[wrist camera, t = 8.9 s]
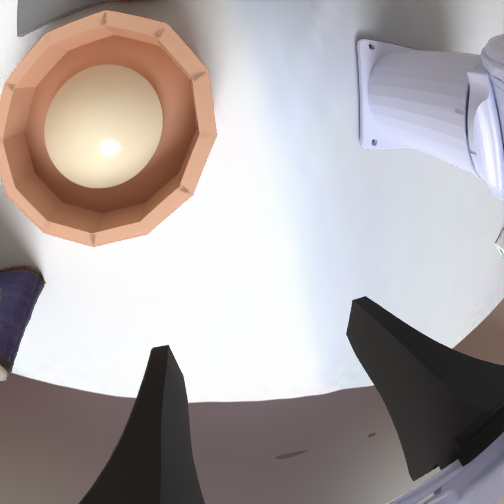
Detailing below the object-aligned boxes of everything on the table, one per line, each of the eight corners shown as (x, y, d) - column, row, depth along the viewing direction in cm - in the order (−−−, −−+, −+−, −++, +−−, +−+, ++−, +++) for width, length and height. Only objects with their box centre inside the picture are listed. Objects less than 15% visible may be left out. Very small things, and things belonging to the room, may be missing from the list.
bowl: (195, 9, 12) (200, -10, 9) (219, 194, 18) (228, 217, 15) (11, 69, 10) (-19, 70, 7) (52, 235, 16) (34, 262, 14)
